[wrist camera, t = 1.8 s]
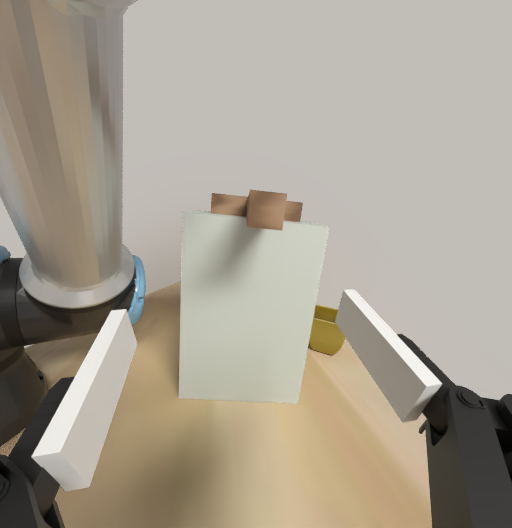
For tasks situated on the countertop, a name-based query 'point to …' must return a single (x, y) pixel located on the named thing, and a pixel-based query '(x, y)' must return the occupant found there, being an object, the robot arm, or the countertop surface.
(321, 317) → the flower pot
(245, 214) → the T-bar
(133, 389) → the countertop surface
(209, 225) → the stand
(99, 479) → the countertop surface
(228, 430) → the countertop surface
